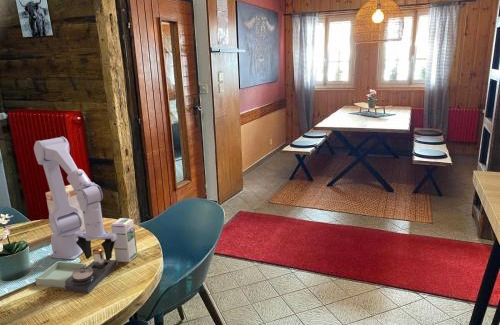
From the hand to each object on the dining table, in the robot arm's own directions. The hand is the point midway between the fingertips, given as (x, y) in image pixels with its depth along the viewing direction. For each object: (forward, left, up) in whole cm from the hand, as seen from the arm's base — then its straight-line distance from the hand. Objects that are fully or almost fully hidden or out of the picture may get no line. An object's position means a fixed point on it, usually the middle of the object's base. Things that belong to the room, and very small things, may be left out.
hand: (99, 258), depth 131 cm
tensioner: (0, -4, -5) cm, 7 cm away
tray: (-11, -6, -5) cm, 13 cm away
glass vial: (0, 0, -5) cm, 5 cm away
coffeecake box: (-30, +27, -5) cm, 41 cm away
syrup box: (+5, +9, -5) cm, 11 cm away
